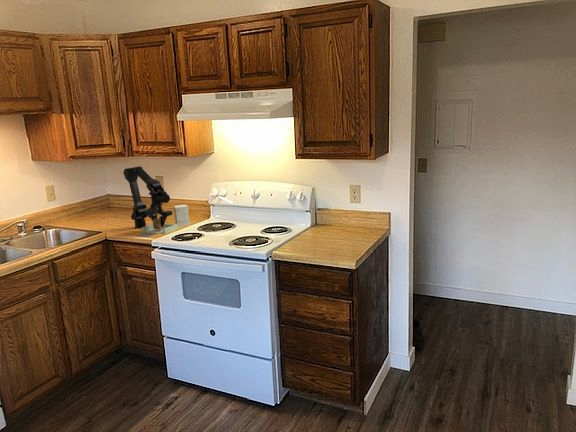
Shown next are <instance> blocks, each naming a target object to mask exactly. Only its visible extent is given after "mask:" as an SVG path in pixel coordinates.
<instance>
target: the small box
mask: <svg viewBox="0 0 576 432" xmlns="http://www.w3.org/2000/svg"><path fill="white" fill-rule="evenodd" d="M173 213H174V221H175V222H174V224H178V228H179V227H185V226H190V224H191V223H190V215H189V207H188V205H187V204H180V205H174V206H173Z"/></svg>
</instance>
